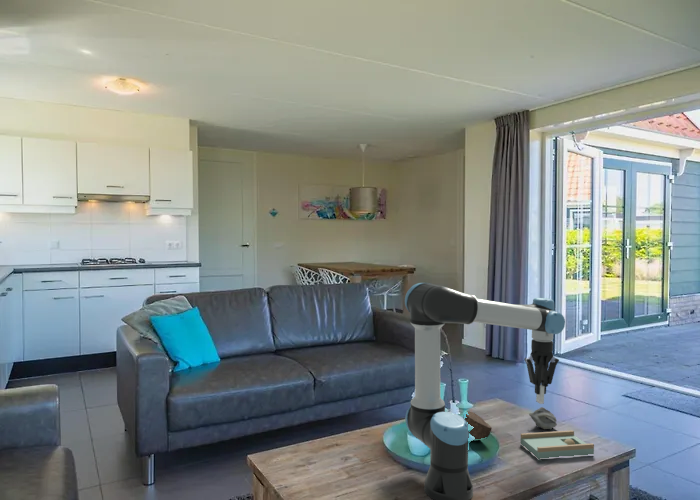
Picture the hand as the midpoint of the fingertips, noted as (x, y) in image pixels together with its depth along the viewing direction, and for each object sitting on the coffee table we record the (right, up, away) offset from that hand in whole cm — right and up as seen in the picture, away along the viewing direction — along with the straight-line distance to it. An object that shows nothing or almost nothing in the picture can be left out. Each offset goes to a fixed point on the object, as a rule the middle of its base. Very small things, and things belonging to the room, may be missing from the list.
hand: (539, 402), depth 185 cm
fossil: (+10, -18, +24) cm, 32 cm away
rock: (-22, -18, +11) cm, 31 cm away
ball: (+12, -17, +3) cm, 21 cm away
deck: (+7, -19, +2) cm, 20 cm away
